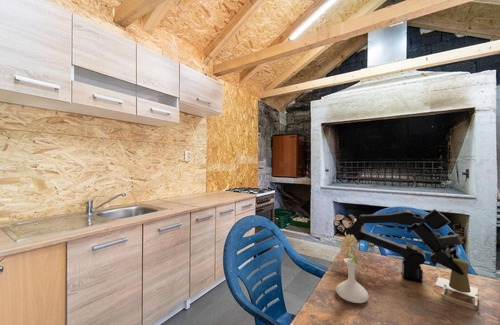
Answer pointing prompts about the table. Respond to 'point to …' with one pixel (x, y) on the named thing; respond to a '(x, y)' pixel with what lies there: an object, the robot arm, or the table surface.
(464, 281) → the cork
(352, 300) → the flower in vase
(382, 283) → the table surface
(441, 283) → the white flat panel
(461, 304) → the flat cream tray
